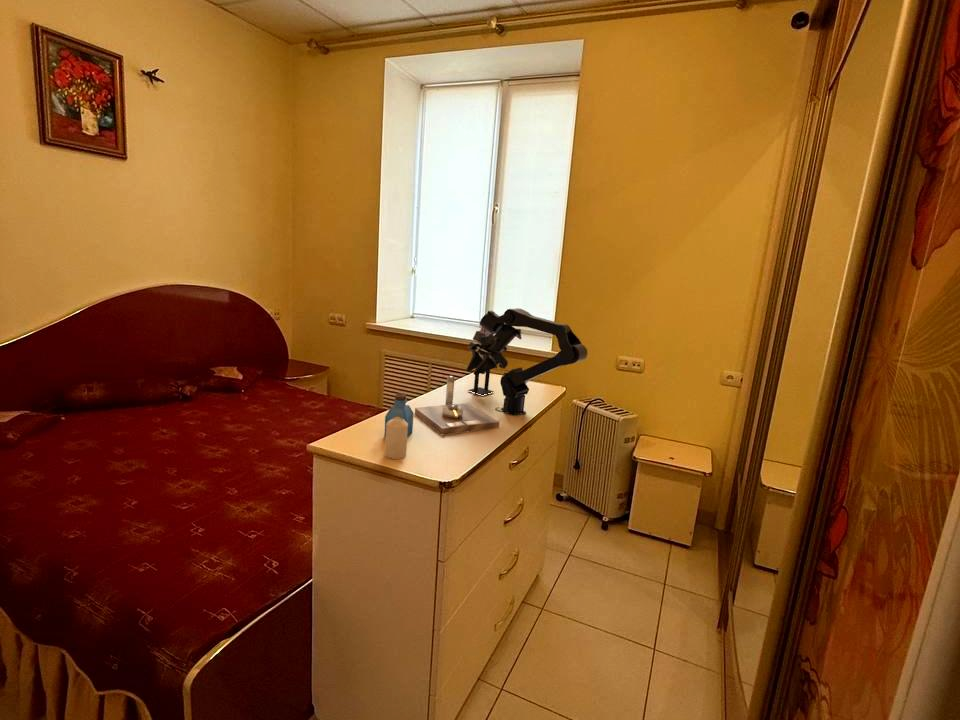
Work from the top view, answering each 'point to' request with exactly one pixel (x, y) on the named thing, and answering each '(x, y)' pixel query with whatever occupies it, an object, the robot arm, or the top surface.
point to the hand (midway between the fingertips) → (470, 372)
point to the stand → (456, 419)
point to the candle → (396, 438)
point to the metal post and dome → (451, 401)
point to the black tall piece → (476, 388)
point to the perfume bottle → (400, 412)
